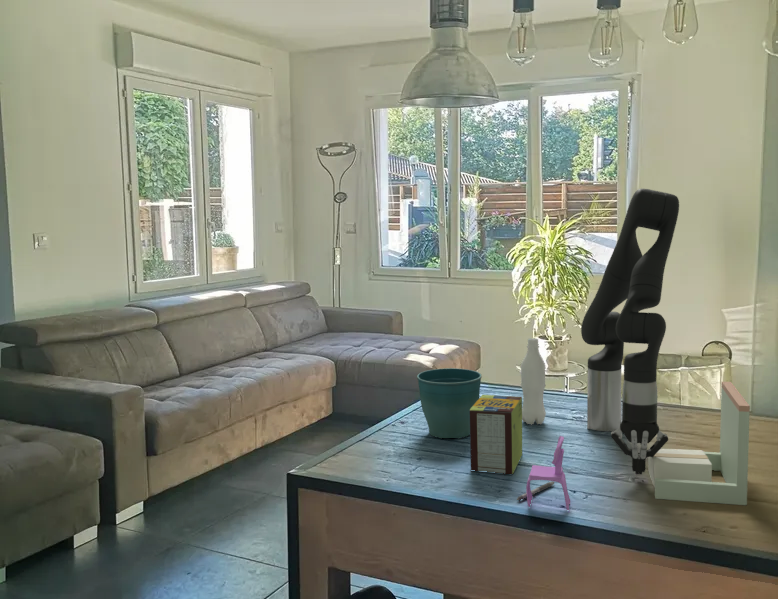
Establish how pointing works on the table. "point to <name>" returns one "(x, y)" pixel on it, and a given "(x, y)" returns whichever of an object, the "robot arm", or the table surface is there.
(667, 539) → the table surface
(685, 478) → the carton
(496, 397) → the protein box
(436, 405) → the flower pot
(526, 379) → the water bottle
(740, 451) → the display stand
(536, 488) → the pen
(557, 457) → the toy chair
